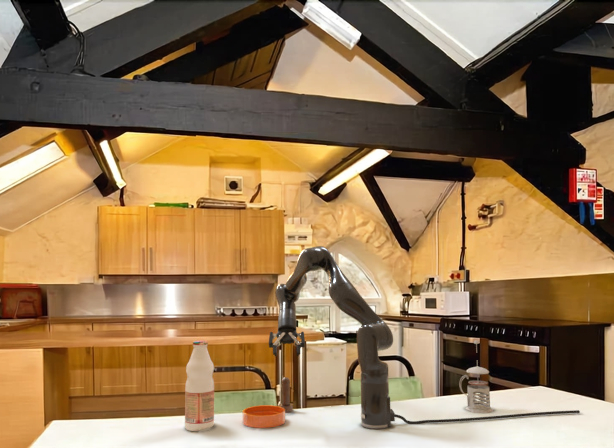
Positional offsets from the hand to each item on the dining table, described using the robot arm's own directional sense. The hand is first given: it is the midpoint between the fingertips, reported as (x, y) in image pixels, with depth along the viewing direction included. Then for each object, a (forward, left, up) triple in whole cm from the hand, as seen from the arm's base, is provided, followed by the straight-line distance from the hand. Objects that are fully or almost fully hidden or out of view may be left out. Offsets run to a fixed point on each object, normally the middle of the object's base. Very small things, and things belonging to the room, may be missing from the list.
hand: (286, 354), depth 204 cm
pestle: (0, +12, -19) cm, 22 cm away
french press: (-70, +10, -19) cm, 73 cm away
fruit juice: (+28, +29, -19) cm, 44 cm away
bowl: (+7, +26, -19) cm, 33 cm away
